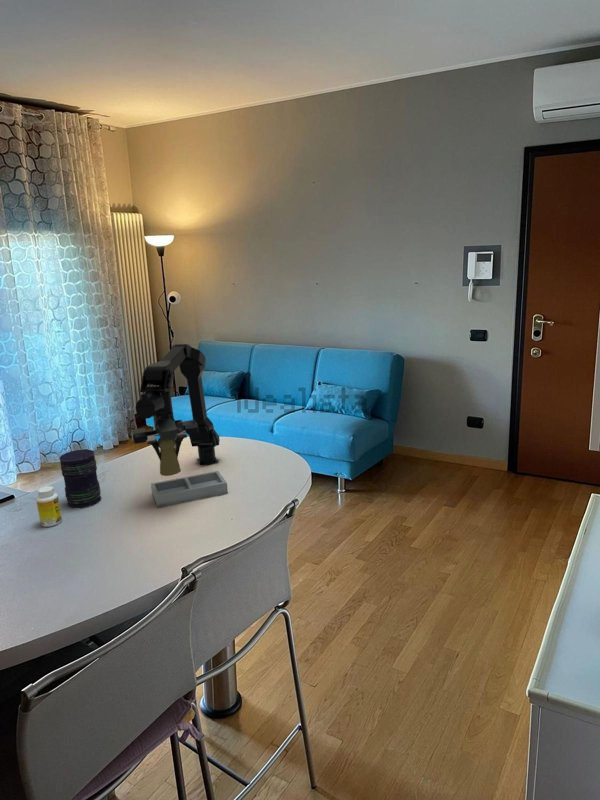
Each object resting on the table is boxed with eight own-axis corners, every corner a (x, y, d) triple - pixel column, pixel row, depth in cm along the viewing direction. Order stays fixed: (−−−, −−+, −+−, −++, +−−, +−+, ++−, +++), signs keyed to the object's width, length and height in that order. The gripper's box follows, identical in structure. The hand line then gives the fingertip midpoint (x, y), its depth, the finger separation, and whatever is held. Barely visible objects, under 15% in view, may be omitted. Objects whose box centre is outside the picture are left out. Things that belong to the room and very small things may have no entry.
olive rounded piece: (183, 467, 175) (179, 433, 172) (177, 475, 170) (172, 439, 167) (163, 468, 176) (159, 433, 173) (157, 475, 170) (152, 440, 167)
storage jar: (59, 505, 174) (51, 458, 170) (85, 492, 182) (78, 447, 178) (83, 510, 169) (75, 462, 165) (108, 497, 177) (101, 451, 174)
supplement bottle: (60, 525, 160) (54, 491, 158) (39, 529, 159) (32, 494, 157) (63, 517, 166) (57, 483, 163) (42, 520, 164) (36, 486, 162)
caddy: (152, 494, 178) (150, 483, 177) (219, 480, 185) (218, 470, 184) (157, 507, 168) (155, 496, 167) (227, 493, 175) (226, 482, 174)
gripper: (131, 420, 157) (139, 474, 161) (200, 410, 164) (205, 461, 168) (128, 410, 167) (135, 461, 171) (192, 401, 174) (197, 450, 178)
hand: (168, 459), depth 172 cm, fingers closed on olive rounded piece, 4 cm apart
